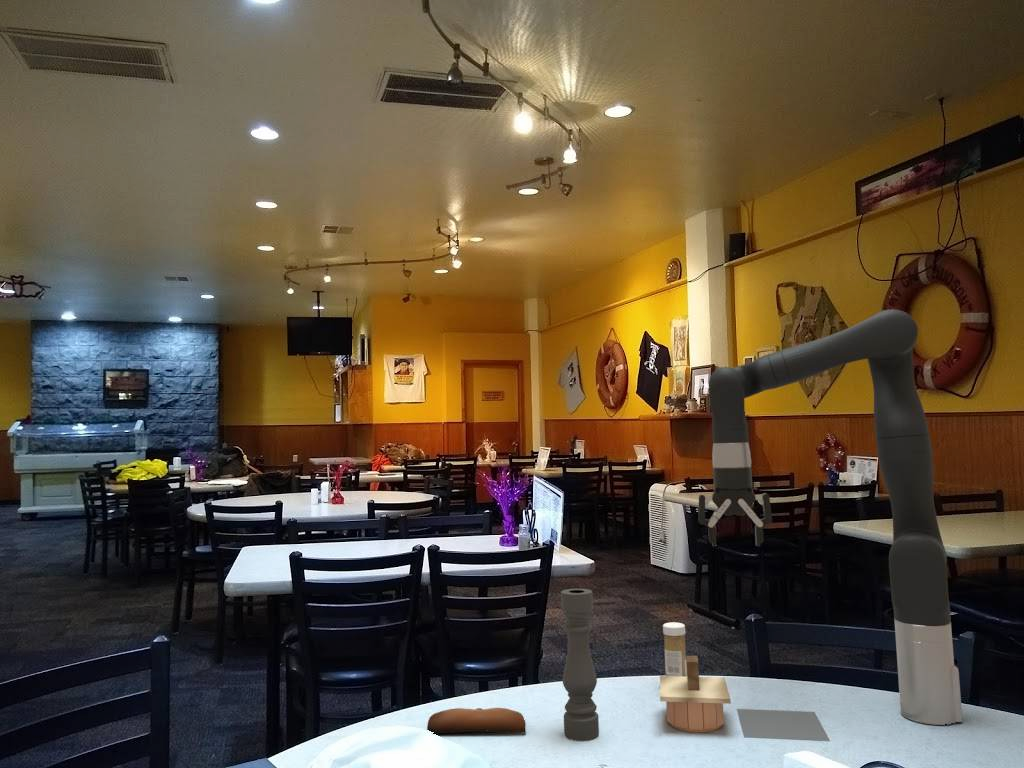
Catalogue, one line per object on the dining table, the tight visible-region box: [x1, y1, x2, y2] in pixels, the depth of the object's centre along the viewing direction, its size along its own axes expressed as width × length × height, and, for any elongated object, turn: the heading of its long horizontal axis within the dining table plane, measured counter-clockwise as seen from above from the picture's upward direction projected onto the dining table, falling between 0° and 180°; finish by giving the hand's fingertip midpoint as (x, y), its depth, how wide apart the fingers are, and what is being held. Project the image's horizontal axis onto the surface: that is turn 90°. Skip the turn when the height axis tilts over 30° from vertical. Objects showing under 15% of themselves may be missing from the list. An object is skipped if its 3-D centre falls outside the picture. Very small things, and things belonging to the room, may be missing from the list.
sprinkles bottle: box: [662, 621, 687, 677], centre depth 157 cm, size 5×5×13 cm
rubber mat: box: [736, 708, 831, 742], centre depth 136 cm, size 14×14×1 cm
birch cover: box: [659, 655, 732, 705], centre depth 138 cm, size 12×12×6 cm
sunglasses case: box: [426, 707, 527, 735], centre depth 139 cm, size 18×7×7 cm, turn 87°
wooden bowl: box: [665, 701, 725, 733], centre depth 138 cm, size 10×10×6 cm
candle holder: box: [560, 588, 600, 742], centre depth 136 cm, size 6×6×25 cm
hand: (735, 545), depth 153 cm, fingers open, 8 cm apart
